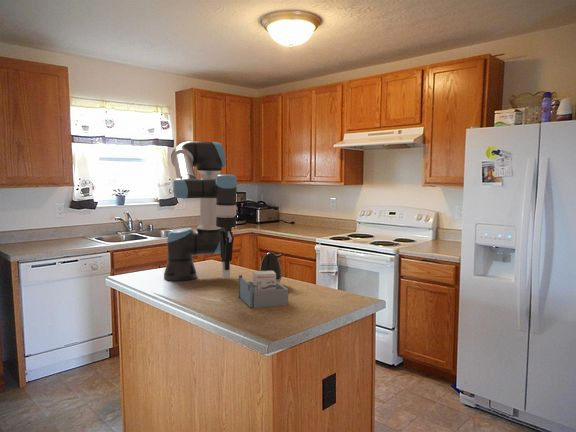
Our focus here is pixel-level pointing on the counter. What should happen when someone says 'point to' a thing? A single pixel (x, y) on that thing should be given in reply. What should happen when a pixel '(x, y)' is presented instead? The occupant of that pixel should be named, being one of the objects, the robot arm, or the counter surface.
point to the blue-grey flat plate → (246, 292)
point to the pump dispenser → (272, 264)
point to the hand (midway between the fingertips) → (226, 277)
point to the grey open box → (269, 296)
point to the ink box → (264, 281)
